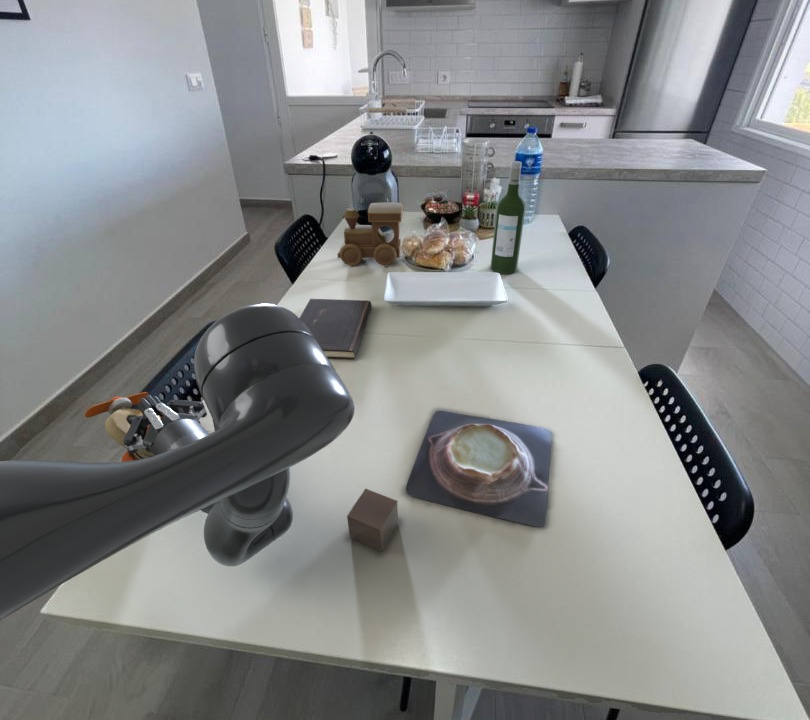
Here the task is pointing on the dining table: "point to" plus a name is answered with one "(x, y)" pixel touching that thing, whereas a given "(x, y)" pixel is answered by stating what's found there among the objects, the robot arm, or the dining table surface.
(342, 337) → the hardcover book
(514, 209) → the wine bottle
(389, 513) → the walnut block
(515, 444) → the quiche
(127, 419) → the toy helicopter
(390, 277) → the tray
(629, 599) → the dining table surface
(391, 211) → the wooden toy train
